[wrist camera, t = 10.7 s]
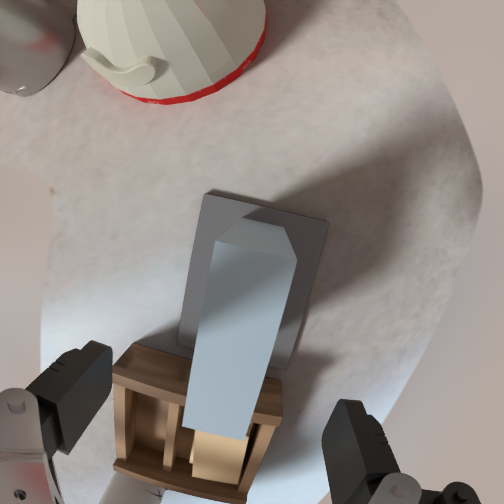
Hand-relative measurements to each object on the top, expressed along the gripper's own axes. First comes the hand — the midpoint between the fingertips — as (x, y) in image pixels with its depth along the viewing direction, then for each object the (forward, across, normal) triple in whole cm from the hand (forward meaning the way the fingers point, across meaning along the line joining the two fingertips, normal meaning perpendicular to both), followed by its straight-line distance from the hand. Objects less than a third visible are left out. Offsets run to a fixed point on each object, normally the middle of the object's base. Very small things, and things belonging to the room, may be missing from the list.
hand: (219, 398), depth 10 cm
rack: (+14, +2, +14) cm, 20 cm away
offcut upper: (+11, -1, +15) cm, 19 cm away
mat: (+14, 0, 0) cm, 14 cm away
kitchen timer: (+15, +10, -19) cm, 26 cm away
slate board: (+13, 0, 0) cm, 13 cm away
